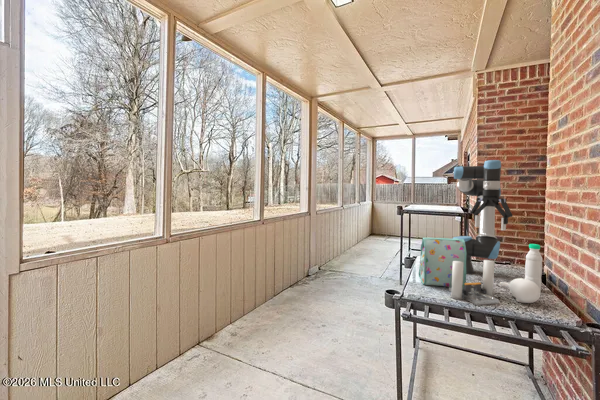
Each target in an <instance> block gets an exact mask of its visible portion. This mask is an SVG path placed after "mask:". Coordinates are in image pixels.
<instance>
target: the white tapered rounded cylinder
mask: <svg viewBox="0 0 600 400" xmlns="http://www.w3.org/2000/svg"><path fill="white" fill-rule="evenodd" d="M462 285H463V262H461V261H453V266H452V291H451V292H450V293H451V294H450V296H449V297H450V298H451V299H452V298H453V300H456V299H457V301H462V300H463V299H464V298H463V297H462Z"/></svg>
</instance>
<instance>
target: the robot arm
mask: <svg viewBox="0 0 600 400" xmlns="http://www.w3.org/2000/svg"><path fill="white" fill-rule="evenodd" d="M501 170H502V161H501V160H499V159H489V160H485V161H484V164H483V165H471V166H470V165H466V166H465V165H464V166H462V165H460V166H455V167H454V168H453V179H454V180H457V181H458V182H457V183H456V184H457V185H456V186H457V189H458V191H459V192H461V194H464V195H466V196H469V197H472V196H473V197H476V202H475V203H474V205H473V207H472V209H471V210H470V214H471V215H473V221H474V227H475V228H478V234H477V235H476V236H475V238H473V237H472V236H470V235H469V236H468V235H459V236H457V235H456V236H453V237H452V238H451V239H454V238H458V239H464V241H465V246H466V275H468V274H469V275H471V274H472V275H473V274H474V272H475V269H474V265H473V262H472V258H480V259H487V260H496V259H497V258H498V257H499V254H500V253H499V252H500V248H501V241H499V240H498V237H497V236H495V232H496V231H495V226H496V223H495V222H496V214H495V213H496V210H497V211H498V212H499V214H500V215H501V216H502V217H501V222H500V224H501V226H500V231H506V229H507V225H508V224H509V218H512V217H513V214H512V211H511V209H510V208H509V205H508V203H507V198H500V197H501V195H502V191H501V176H502V175H501V172H502V171H501ZM499 203H501V205H500V204H499Z"/></svg>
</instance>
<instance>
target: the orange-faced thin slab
mask: <svg viewBox="0 0 600 400" xmlns="http://www.w3.org/2000/svg"><path fill="white" fill-rule="evenodd" d="M472 286H473V288H474V291H476V292H481V288H482V283H481V282H466V283H464V290H467V291H468V292H471V288H472Z"/></svg>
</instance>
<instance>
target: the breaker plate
mask: <svg viewBox="0 0 600 400" xmlns="http://www.w3.org/2000/svg"><path fill="white" fill-rule="evenodd" d="M451 291H452V287H448V292H450V293H451ZM462 297H463V299H464V300H465V301H468V302H470V303H472V304H474V305H476V306H483V305H496V304H498V305H499V303H500V302H499V298H497V297H495V296H494V297H492V296H490V295H487V294H486V290H484V289H482V287H481V292H476V291H474V287H471V292H468V291H467V290H464V287H462Z"/></svg>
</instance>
